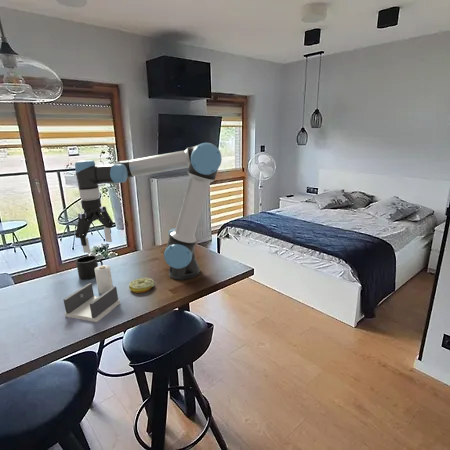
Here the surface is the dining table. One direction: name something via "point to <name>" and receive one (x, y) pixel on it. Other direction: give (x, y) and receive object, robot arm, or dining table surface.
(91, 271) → the mug
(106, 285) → the roll
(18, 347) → the dining table surface
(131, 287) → the decorated donut
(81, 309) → the cradle
